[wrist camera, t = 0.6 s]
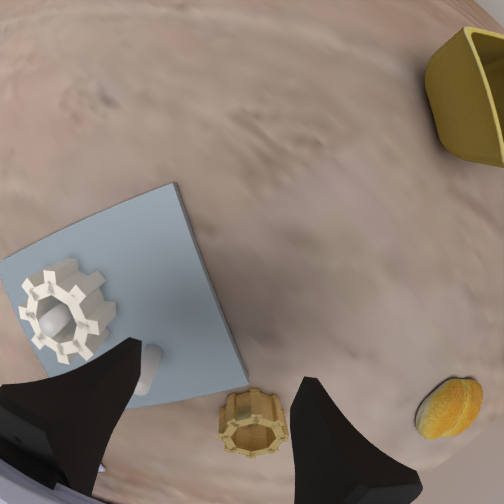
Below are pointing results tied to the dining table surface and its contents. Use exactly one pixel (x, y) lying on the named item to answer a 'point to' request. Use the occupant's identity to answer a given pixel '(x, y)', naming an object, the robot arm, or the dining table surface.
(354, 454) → the robot arm
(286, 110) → the dining table surface
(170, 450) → the dining table surface
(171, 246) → the gear board
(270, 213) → the dining table surface
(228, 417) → the brass gear
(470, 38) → the flower pot
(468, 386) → the bread roll
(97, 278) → the gear
